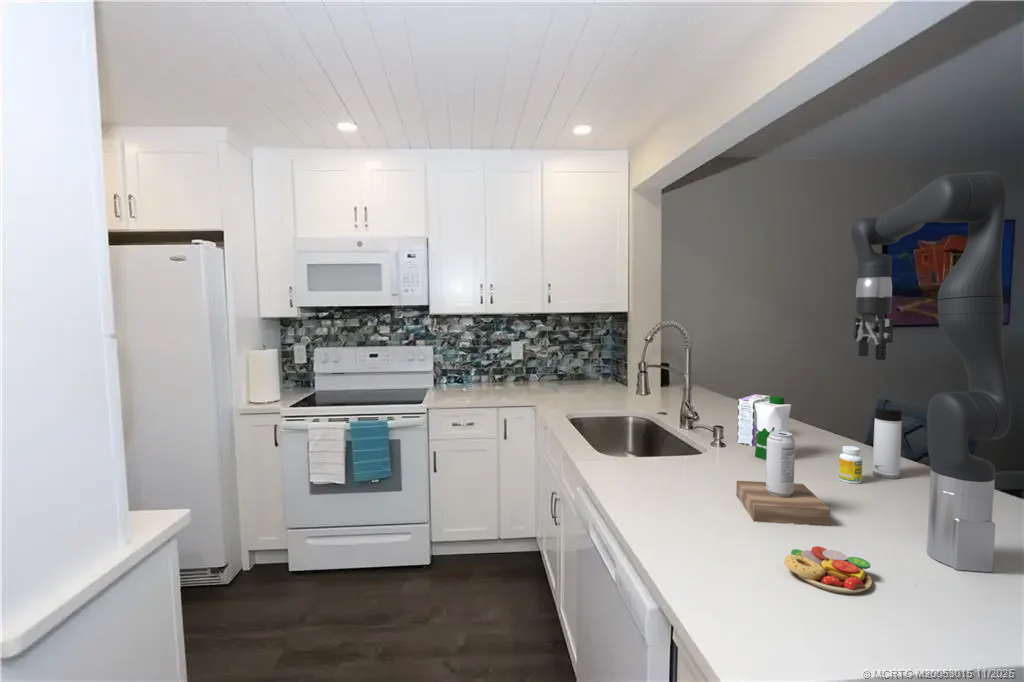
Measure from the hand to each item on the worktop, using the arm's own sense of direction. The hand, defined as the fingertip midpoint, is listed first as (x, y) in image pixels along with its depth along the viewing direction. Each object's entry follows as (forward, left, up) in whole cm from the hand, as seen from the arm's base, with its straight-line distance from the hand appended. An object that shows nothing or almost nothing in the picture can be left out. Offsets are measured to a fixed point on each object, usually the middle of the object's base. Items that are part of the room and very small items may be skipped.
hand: (871, 357), depth 129 cm
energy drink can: (-15, +26, -32) cm, 44 cm away
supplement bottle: (+9, 0, -36) cm, 37 cm away
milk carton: (+28, +15, -36) cm, 48 cm away
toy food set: (-45, +27, -37) cm, 64 cm away
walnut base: (-15, +26, -36) cm, 47 cm away
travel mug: (+15, -12, -36) cm, 41 cm away
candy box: (+48, +15, -36) cm, 62 cm away
